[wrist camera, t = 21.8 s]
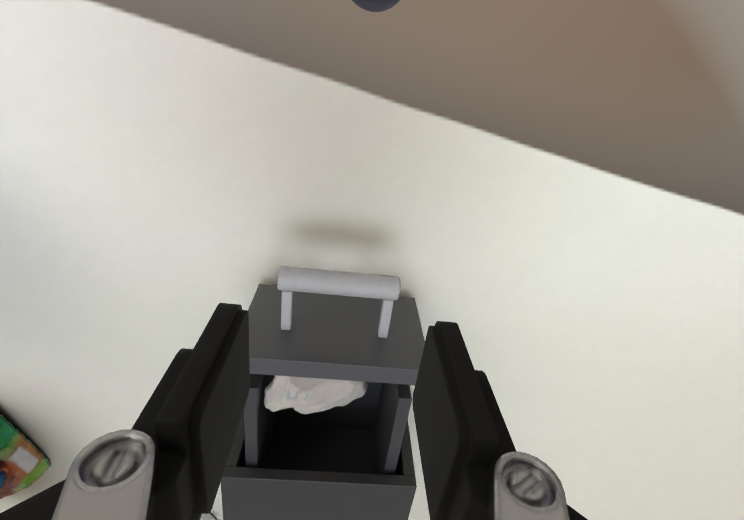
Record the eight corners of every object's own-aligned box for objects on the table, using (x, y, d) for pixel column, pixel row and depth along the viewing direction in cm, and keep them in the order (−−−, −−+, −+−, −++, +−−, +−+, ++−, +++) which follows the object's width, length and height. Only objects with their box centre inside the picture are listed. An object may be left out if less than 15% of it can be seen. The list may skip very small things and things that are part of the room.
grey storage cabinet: (254, 370, 34) (219, 477, 25) (402, 380, 35) (416, 486, 27) (255, 481, 41) (228, 595, 32) (380, 487, 42) (386, 600, 33)
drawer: (258, 230, 27) (225, 290, 20) (424, 246, 28) (446, 310, 21) (259, 416, 35) (235, 506, 28) (389, 424, 36) (396, 513, 29)
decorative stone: (247, 401, 27) (259, 434, 25) (269, 328, 26) (284, 355, 24) (354, 394, 32) (373, 421, 30) (378, 332, 31) (399, 355, 28)
